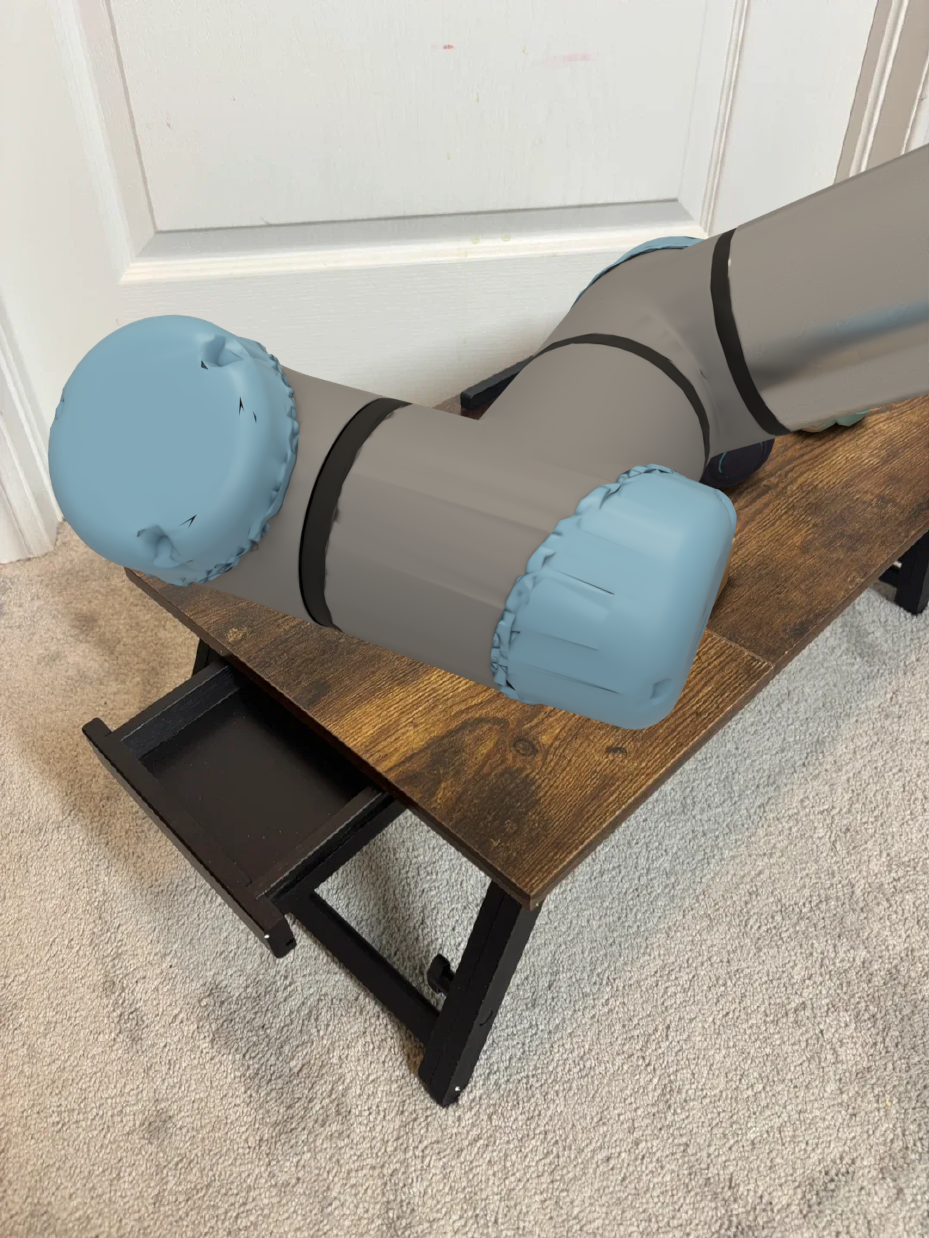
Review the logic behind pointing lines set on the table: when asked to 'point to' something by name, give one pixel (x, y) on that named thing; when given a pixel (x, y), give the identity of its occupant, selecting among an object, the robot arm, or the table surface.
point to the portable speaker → (736, 465)
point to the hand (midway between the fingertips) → (489, 582)
